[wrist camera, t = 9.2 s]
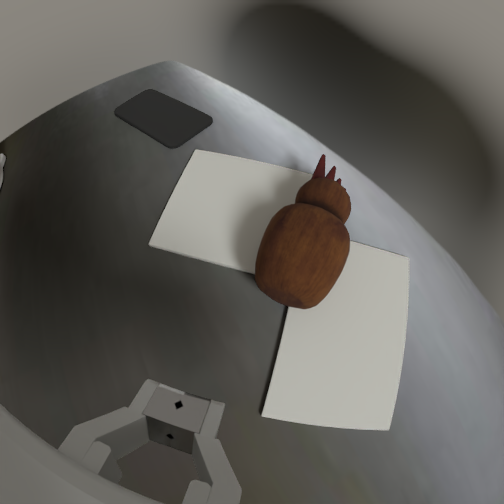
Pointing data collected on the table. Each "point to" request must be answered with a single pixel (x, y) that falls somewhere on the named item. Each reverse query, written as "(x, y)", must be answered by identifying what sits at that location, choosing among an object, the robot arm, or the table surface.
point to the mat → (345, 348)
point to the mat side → (225, 208)
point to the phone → (163, 118)
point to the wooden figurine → (306, 243)
